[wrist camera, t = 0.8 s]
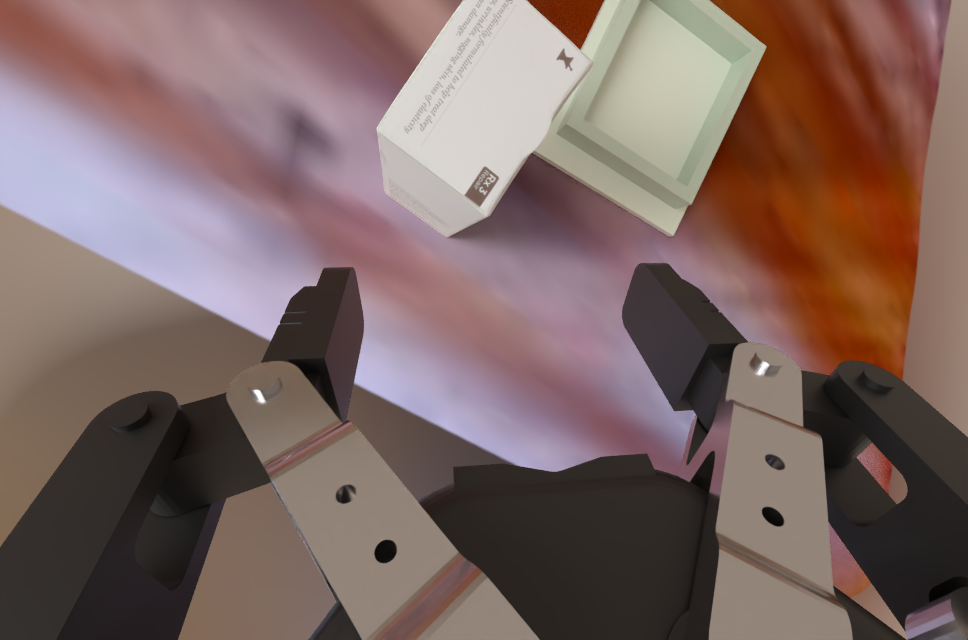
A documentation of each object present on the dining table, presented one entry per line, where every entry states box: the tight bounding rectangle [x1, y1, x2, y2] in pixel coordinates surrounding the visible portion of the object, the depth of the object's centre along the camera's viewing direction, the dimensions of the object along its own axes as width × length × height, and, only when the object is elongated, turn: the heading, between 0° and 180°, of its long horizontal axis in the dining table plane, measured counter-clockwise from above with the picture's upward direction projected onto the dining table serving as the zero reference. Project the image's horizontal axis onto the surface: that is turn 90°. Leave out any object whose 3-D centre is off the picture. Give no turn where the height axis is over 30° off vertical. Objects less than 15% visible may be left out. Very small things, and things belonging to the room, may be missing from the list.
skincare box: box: [377, 0, 593, 238], centre depth 23 cm, size 8×6×15 cm
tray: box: [532, 0, 766, 237], centre depth 32 cm, size 14×18×3 cm
